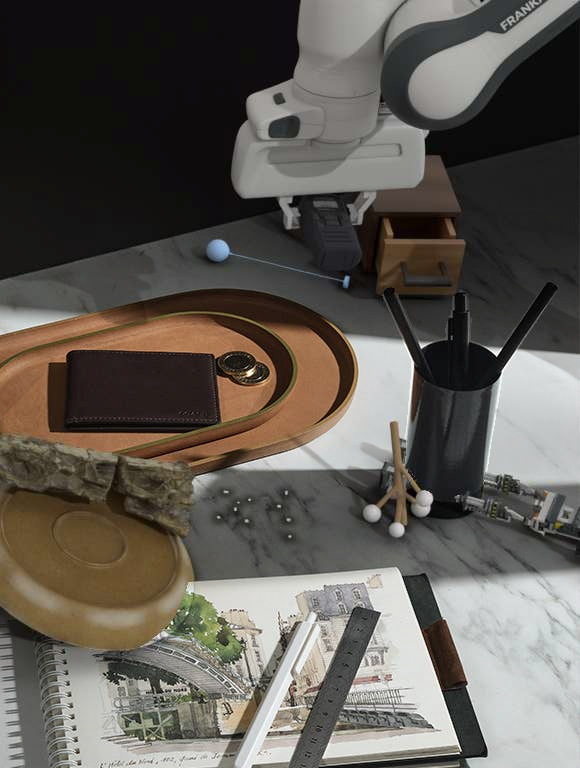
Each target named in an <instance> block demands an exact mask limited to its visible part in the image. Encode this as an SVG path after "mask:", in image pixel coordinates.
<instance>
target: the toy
mask: <svg viewBox="0 0 580 768" xmlns="http://www.w3.org/2000/svg"><path fill="white" fill-rule="evenodd" d="M399 438H400V448H401V459H402V463H403V465H405V464H404V463H405V456H406V442H407V439H404V438H403V437H399ZM406 470H407V471H408V470H409V469H407V468H406ZM484 472H485V475H484V479H483V481H484V485H483V486H485V487H487V486H488V487H489V488H492V489H495V490H497V491H499V492H501V493H503V494H505V495H507V496H509V495H512V496H516V497H519V498H522V496H523V497H524V496H525V497H527V496H532V497H533V499H535V501H534V502H532V503H531V507H530V513H529V517H527V516H522V515H520V514H518V513H517V512H516V511H514V510H512V509H511V508H509V505H508V504H507V505H506V504H502V501H500V500H497V499H493V498H492V499H491V500H490V498H488V499H486V500H484V499H482V498H481V499H480V498H476V497H474V496H470V493H471V491H470V490H468V491H467V490H466V492H465V493H464V494H465V495H464V494H463V495H464V496H463V495H462V494H461V495H457V496H455V497H454V498H455V499H456V503H460V502H461V503H462V512H464V511H467V509H469V511H472V512H475V511H476V513H479V514H483V515H484V516H486V517H488V518H490V519H491V520H494V521H495V522H497V521H500V522H501V521H502V522H505V523H508V524H510V523H511V522H512V523H516V522H517V523H519V524H522V525H526V526H529V528H530V529H531V530H533V531H534V532H537V533H539V534H540V535H542V536H543V538H544V537H545V535H546V533H550V534H553V535H555V534H557V535H561V536H564V537H568V538H571V539H574V540H578V541H577V544H576V546H575V551H574V556H577V557H580V506H578V508H572V507H569V505H565V504H564V503H565V500H566V498H567V496H566V495H564V494H560V493H558V494H557V492H551V491H549V490H548V491H547V490H543V491H541V492H540V491H539V490H536V489H535V490H534V489H533V488H532V487H531V486H530V485H529V484H527V483H525V482H521V480H520V479H516V478H514V476H513V475H511V474H507V473H503V475H502V473H499V474H494V473H491V472H488V471H487V472H486V471H484ZM410 476H411V475H410ZM393 478H394V464H393V462H392V463H391V462H389V461H384V463H383V464H382V467H381V469H380V473H379V483H378V484H379V486H378V489H379V490H384V491H387V490H388V488H389V487H390V486H392V483H393ZM403 480H404V489H405V491H406V492H407V490H409V489H411V488H413V487H412V485H411V484H410V483H409V481H408V480H407V478H406V477H405V476H404V474H403ZM522 490H523V491H522ZM472 505H473V506H472ZM510 515H511V516H510Z"/></svg>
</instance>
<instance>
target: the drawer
mask: <svg viewBox="0 0 580 768" xmlns="http://www.w3.org/2000/svg"><path fill="white" fill-rule="evenodd" d="M466 245H467V244H466V241H465V239H464V238H463V239H460V238H459V239H457V238H456V233H455V230H454V228H453V225H452V222H451V219H450V217H383V216H379V221H378V228H377V234H376V241H375V247H374V253H373V258H374V262H375V265H376V269H377V273H376V274H377V280H376V286H375V292H376V294H377V295H384V294H383V291H384V289H386V288H388V287H394V288H395V289H396V293H397V294H396V295H442V296H443V295H445V296H446V295H449V296H450V295H451V296H452V295H453V296H454V294H455V295H456V292H457V288H458V283H459V278H460V274H461V269H462V264H463V261H464V255H465V249H466Z"/></svg>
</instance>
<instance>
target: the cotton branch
mask: <svg viewBox="0 0 580 768" xmlns="http://www.w3.org/2000/svg"><path fill="white" fill-rule="evenodd" d="M389 431H390V442H391V452H392V464H393V466H394V478H393V483H392V486H390V487H389V488H388V489H387V490H386V494H385V495H384V496H383V497H382V498H381V499H379V501H378V502H377V503H376V504H368V505H366V506H365V507H364V508H363V510H362V515H363V518H364V519H365V521H367V522H369V523H376V522H378V521H379V520H380V518H381V516H382V511H381V508H382V507H383V506H384V505H385V504H386V502H387V501H388V500H389V499H391V500H396V508H395V515H394V521H393V523H391V524H390V525H389V527H388V533H389V534H390V535H391V537H393V538H401V537H402V536H403V535H404V534H405V526H407V525H408V514H407V503H406V500H407V501H408V502H410V503H411V505H410V511H411V513H412V514H413V515H414V516H416V517H418V518H423V517H426V516H427V515H429V514H430V511H431V505H432V503H433V501H434V496H433V493H430V492H429V491H426V490H421V489H420V488H419V487H418V485H417V484H416V482H415V481H416V480H415V481H414V480H413V478H412V477H411V476H410V474H409V473H408V471H407V470H408V469H407V468H406V466H404V465H405V464H403V463H402V459H401V448H400V438H401V437H400V429H399V422H398V421H397V420H393V421H390V422H389ZM406 469H407V470H406ZM403 474H404V476H405V477H406V478H407V480H408V481H409V483H410V484H411V485H412V487H411V488H413V490H414V491H415V493H416V496H415V497H413V496H412V495H410V494H409V493H408V492H407V490H406V491H405V489H404V480H403Z"/></svg>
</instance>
